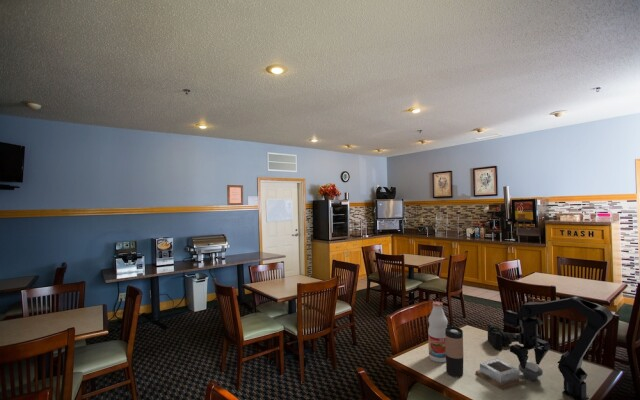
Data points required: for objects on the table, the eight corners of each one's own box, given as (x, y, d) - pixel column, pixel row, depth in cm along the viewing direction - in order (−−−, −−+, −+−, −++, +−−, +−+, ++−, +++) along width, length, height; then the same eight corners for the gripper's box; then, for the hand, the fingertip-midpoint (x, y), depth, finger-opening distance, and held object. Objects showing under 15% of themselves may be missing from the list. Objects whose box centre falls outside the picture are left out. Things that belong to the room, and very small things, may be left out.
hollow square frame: (519, 379, 142) (519, 369, 142) (501, 384, 138) (501, 375, 138) (497, 367, 153) (497, 358, 153) (479, 372, 149) (479, 363, 149)
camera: (516, 352, 170) (515, 332, 170) (494, 350, 172) (493, 331, 172) (506, 340, 183) (506, 322, 183) (485, 339, 185) (485, 321, 185)
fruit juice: (445, 354, 169) (444, 300, 169) (451, 363, 159) (450, 306, 159) (426, 353, 169) (425, 300, 169) (431, 363, 160) (430, 306, 160)
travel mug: (448, 367, 156) (448, 325, 156) (465, 372, 151) (465, 329, 151) (443, 374, 150) (442, 330, 150) (460, 379, 145) (460, 334, 145)
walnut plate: (524, 383, 141) (524, 380, 141) (502, 390, 137) (502, 387, 137) (496, 367, 154) (496, 365, 154) (475, 373, 150) (475, 371, 150)
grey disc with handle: (547, 380, 143) (547, 365, 143) (533, 385, 140) (533, 369, 140) (527, 370, 151) (527, 356, 151) (514, 374, 148) (513, 359, 148)
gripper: (527, 321, 156) (527, 354, 157) (498, 328, 150) (499, 362, 150) (550, 330, 146) (551, 365, 146) (521, 337, 139) (522, 374, 139)
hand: (530, 366), depth 146 cm, fingers open, 9 cm apart
